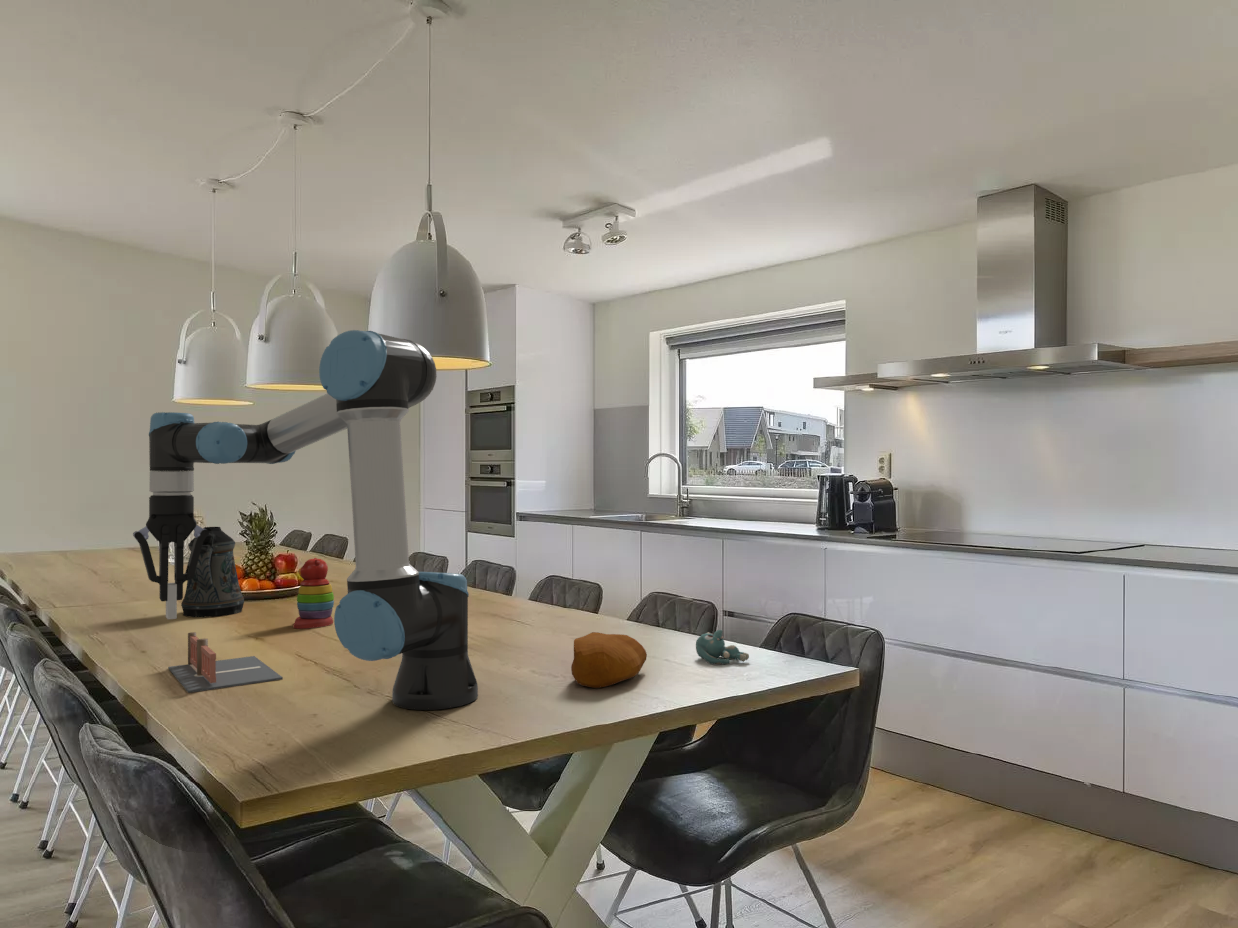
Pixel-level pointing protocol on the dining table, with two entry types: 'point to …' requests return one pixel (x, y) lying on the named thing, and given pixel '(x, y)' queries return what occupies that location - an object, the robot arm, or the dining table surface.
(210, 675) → the hinged panel
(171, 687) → the dining table surface
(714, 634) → the stuffed animal
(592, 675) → the bread
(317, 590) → the stacking bear
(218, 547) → the beer stein
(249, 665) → the mat
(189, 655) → the fixed panel
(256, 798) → the dining table surface
